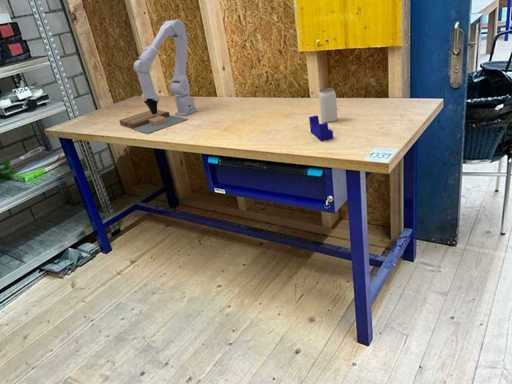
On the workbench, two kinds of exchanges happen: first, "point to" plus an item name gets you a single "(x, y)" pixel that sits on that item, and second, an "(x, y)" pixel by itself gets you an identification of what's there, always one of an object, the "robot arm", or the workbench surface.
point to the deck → (141, 119)
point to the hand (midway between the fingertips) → (154, 114)
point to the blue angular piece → (320, 129)
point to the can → (328, 105)
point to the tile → (157, 120)
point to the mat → (160, 125)
